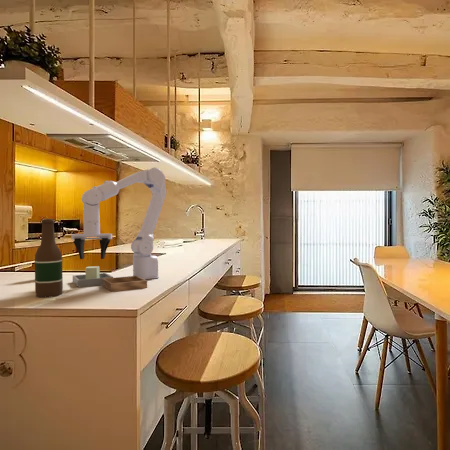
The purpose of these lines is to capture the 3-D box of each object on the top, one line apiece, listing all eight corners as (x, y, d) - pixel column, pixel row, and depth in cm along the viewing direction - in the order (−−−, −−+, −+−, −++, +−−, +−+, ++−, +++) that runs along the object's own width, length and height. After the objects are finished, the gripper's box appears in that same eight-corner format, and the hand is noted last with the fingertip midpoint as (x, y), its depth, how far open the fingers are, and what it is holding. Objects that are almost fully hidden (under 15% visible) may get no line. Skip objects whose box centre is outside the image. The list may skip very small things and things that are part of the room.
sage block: (96, 284, 135) (96, 267, 135) (85, 284, 135) (85, 267, 135) (99, 282, 139) (99, 266, 139) (88, 282, 139) (88, 266, 139)
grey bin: (105, 279, 145) (105, 272, 145) (113, 283, 135) (113, 277, 135) (72, 282, 139) (72, 275, 139) (78, 287, 129) (77, 280, 129)
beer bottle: (68, 293, 118) (66, 218, 118) (49, 298, 111) (47, 218, 111) (49, 292, 121) (47, 218, 120) (29, 296, 114) (27, 219, 113)
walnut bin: (136, 282, 137) (136, 275, 137) (147, 287, 127) (147, 280, 127) (102, 285, 131) (102, 278, 131) (111, 291, 121) (111, 283, 121)
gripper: (114, 221, 141) (115, 257, 141) (76, 222, 141) (77, 257, 141) (108, 222, 134) (109, 259, 134) (68, 222, 133) (69, 259, 134)
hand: (92, 258), depth 137 cm, fingers open, 7 cm apart
